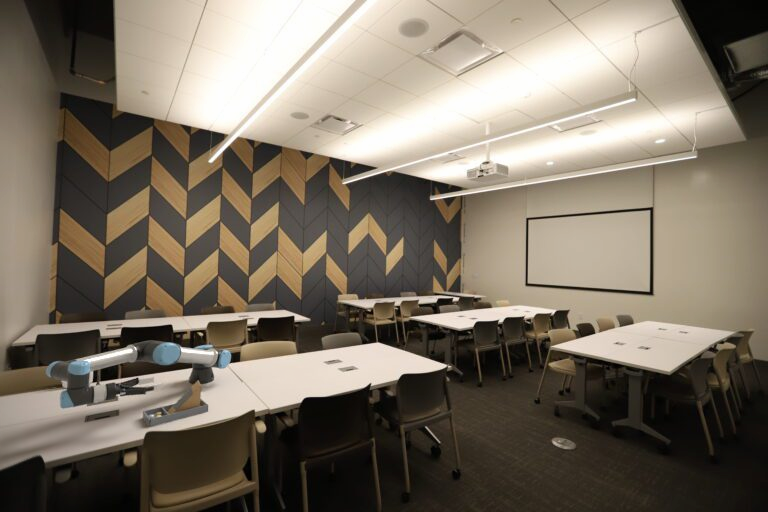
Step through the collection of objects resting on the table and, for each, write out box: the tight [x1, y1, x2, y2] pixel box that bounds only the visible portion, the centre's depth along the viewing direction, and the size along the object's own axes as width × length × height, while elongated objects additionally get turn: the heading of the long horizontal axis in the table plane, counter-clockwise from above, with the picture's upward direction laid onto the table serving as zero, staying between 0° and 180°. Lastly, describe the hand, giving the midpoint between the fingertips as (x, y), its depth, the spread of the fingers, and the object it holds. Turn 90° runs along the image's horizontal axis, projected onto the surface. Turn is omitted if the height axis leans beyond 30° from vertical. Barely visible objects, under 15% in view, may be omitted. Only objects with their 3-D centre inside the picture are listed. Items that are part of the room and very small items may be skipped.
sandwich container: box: [167, 380, 202, 414], centre depth 189 cm, size 9×15×15 cm, turn 126°
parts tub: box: [142, 397, 209, 428], centre depth 186 cm, size 27×13×4 cm, turn 136°
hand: (157, 382), depth 181 cm, fingers open, 13 cm apart
